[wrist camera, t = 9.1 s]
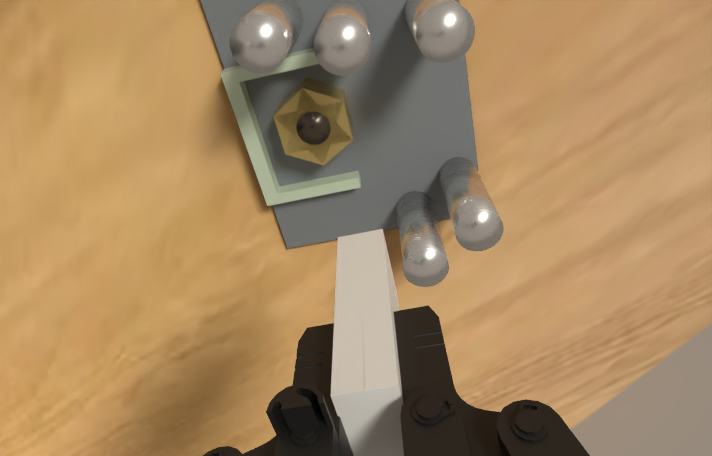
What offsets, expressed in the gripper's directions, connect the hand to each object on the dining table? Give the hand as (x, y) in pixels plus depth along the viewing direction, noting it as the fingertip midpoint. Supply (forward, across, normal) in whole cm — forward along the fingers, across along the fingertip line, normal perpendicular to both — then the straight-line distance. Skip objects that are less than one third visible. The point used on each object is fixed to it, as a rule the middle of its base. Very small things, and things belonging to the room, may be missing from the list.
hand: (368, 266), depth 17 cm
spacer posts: (+20, +1, -2) cm, 20 cm away
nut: (+20, -3, -1) cm, 20 cm away
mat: (+20, 0, -1) cm, 20 cm away
